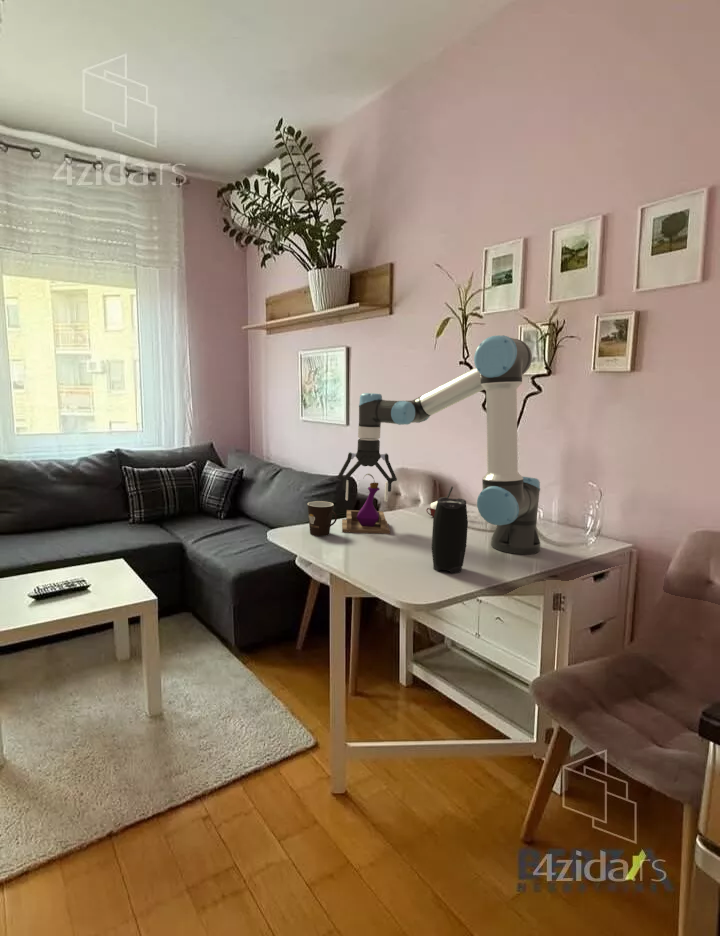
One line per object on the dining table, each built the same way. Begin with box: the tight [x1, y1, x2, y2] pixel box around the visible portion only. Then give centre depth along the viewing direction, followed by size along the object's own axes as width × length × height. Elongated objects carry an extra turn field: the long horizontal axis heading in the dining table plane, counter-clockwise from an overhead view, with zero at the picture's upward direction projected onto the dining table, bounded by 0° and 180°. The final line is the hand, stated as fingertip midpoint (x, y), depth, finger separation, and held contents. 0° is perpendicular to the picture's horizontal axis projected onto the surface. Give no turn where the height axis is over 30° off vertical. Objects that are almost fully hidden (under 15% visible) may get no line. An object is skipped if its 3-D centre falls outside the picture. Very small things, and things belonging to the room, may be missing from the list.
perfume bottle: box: [357, 473, 380, 527], centre depth 195 cm, size 8×8×18 cm
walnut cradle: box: [341, 509, 391, 535], centre depth 196 cm, size 14×16×4 cm
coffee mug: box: [307, 500, 338, 537], centre depth 184 cm, size 12×9×10 cm
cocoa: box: [425, 486, 454, 518], centre depth 215 cm, size 10×6×12 cm, turn 68°
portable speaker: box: [431, 496, 469, 574], centre depth 154 cm, size 9×9×20 cm
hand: (366, 500), depth 195 cm, fingers open, 13 cm apart
